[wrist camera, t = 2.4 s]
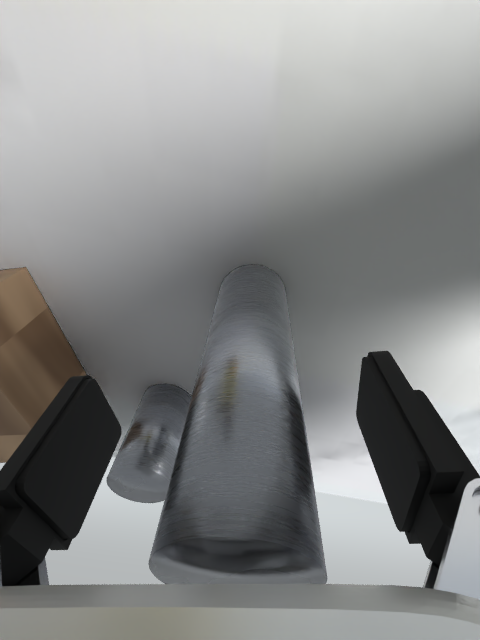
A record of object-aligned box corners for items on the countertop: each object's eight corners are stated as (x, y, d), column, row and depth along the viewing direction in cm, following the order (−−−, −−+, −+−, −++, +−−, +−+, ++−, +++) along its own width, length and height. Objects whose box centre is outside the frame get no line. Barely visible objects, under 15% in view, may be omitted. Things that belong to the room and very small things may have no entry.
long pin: (283, 261, 15) (330, 538, 5) (287, 320, 17) (325, 607, 7) (214, 268, 15) (123, 536, 5) (225, 325, 17) (174, 601, 7)
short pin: (186, 382, 20) (161, 467, 15) (197, 417, 22) (179, 502, 17) (136, 385, 20) (96, 468, 15) (152, 419, 22) (120, 503, 17)
